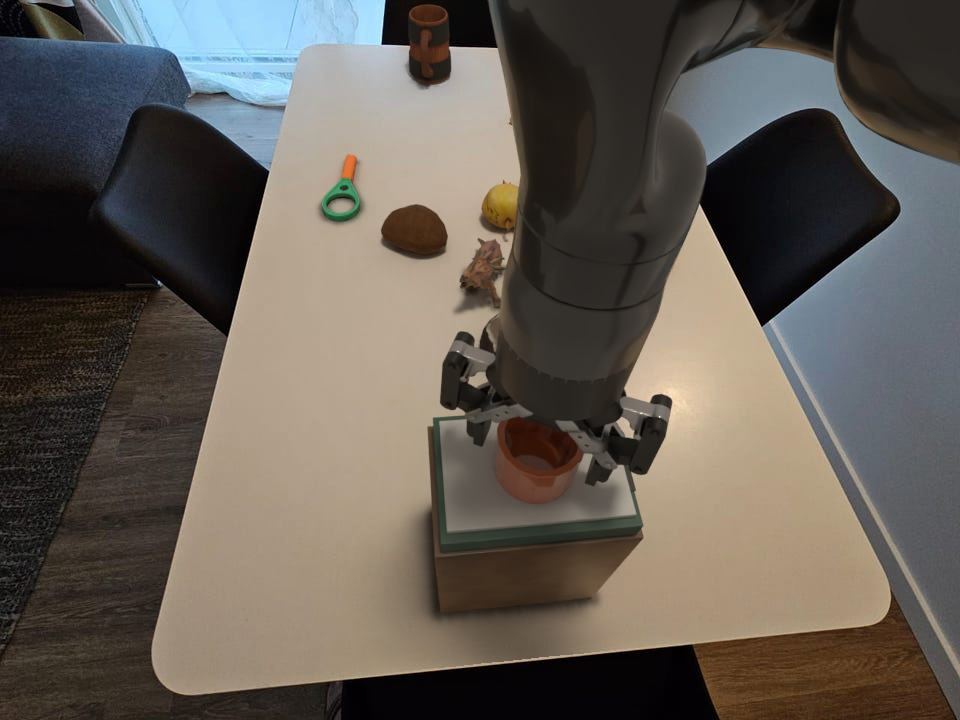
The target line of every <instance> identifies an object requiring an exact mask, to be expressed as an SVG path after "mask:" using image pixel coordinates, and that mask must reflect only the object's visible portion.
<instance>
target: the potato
mask: <svg viewBox="0 0 960 720" xmlns="http://www.w3.org/2000/svg"><path fill="white" fill-rule="evenodd" d="M380 234H381V235H382V237H383V238H384V240H385V241H386V242H388V243H390V244H391V245H393V246H395V247H398V248H400V249H403V250H405V251H406V250H407V251H411V252H414V253H416V254H419V255H428V254H434V253H436V252H438V251H441V250H442V249H444V248H445V247H447V243H448V239H449V234H448V231H447V227H446V225H445V223H444V222H443V220H442V219H441V218H440V216H439V214H438V213H437V212H435V211H434V210H432V209H431V208H429V207H427V206H426V205H422V204H418V203H414V204H409V205H407V206H403V207H400V208H397V209H394V210H393V211H391V212H390V213H389V214H388V215H387V217H386V218H385V219H384V220H383V223H382V226H381V228H380Z"/></svg>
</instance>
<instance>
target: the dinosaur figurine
mask: <svg viewBox="0 0 960 720" xmlns="http://www.w3.org/2000/svg"><path fill="white" fill-rule="evenodd" d="M476 240H477V241H478V243H479V244H480V247H479V248H478V250H476V253H475V254H474V257H472V258H471V259H472V261H471V262H470V263H469V264H468V266H467V267H466V270H465V271H464V272H462V274H460V279H459V283H460V285H459V288H460V289H461V290H463V289H465V290H467V291H468V292H471V291H472V292H474V291H475V289H476V288H479V287H480V288H481V289H483V290H486V289H487V290H488V291H490V294H491V295H492V297H493V305H494V308H495V309H496V308H499V309H500V306H501V297H499V296H498V293H497V288H496V286H495V283H494V282H493V279H494V278H495V279H496V280H497V279H498V276H497V275H503V271H505V269H506V266H502V263H503V261H505V260H506V258H505V257H503V253H502V249H501V244H500V243H499V242H498V241H497V239H496V238H494V239H492V240H486V241H485V240H483V239H481V238H479V237H478V238H477V239H476Z"/></svg>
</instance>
